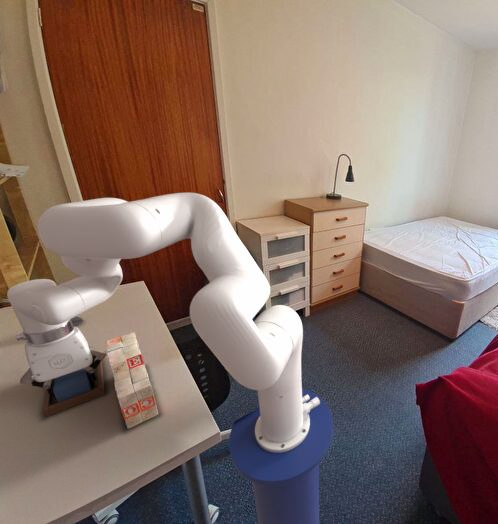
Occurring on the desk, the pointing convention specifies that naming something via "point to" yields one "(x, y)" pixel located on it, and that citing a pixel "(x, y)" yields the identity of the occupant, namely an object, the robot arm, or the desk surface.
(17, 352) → the desk surface
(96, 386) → the pad tray
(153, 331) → the desk surface
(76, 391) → the blue block
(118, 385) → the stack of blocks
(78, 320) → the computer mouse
